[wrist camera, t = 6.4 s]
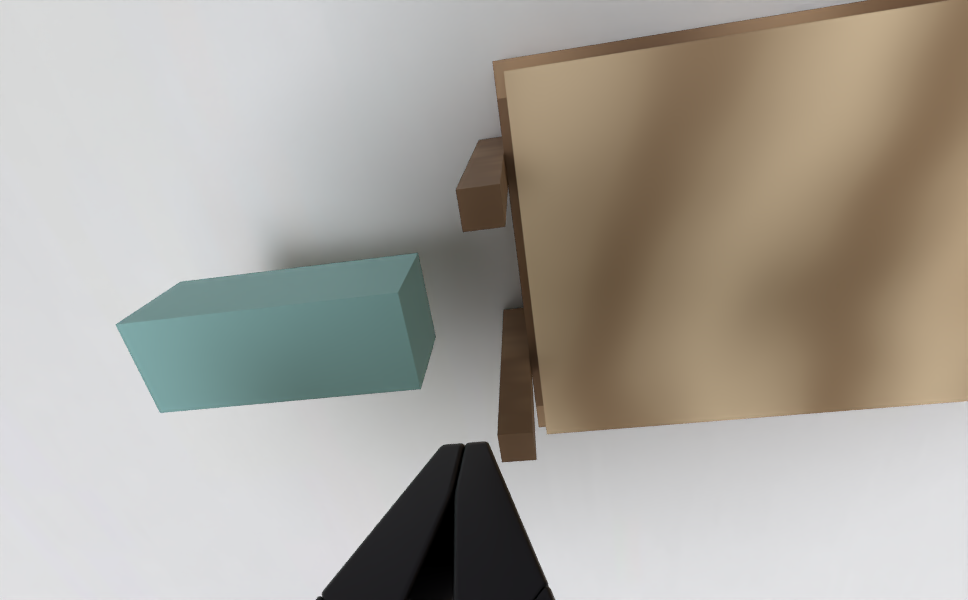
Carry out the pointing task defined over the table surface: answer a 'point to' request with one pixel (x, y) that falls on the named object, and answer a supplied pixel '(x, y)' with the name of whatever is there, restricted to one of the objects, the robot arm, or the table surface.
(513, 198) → the toolbox
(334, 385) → the teal block
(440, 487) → the robot arm
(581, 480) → the table surface
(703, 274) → the lid
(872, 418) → the table surface
